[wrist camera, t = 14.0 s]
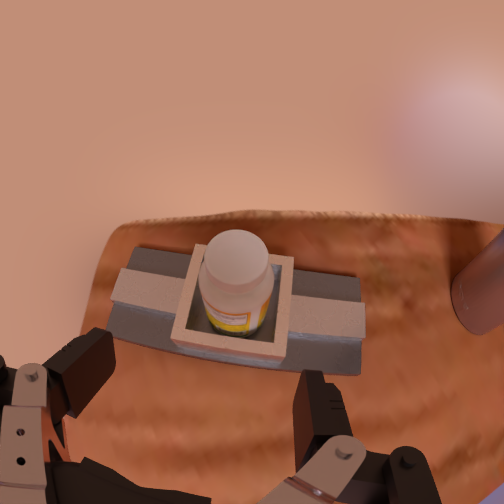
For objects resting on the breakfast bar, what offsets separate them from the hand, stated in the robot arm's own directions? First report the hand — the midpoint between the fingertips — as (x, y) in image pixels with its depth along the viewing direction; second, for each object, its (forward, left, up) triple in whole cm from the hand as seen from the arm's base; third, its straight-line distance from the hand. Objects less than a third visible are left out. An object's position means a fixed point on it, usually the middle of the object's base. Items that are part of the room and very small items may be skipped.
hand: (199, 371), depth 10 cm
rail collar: (0, -8, -14) cm, 16 cm away
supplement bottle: (0, -8, -13) cm, 15 cm away
